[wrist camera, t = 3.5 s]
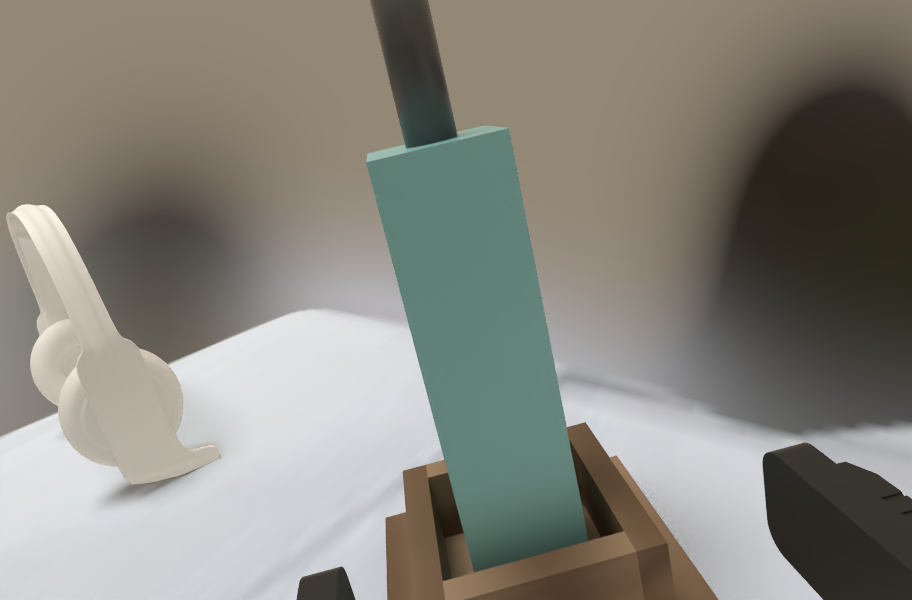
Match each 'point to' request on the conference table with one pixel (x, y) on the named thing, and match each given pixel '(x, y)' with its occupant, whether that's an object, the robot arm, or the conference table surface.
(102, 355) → the headset
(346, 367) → the conference table surface
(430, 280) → the plug
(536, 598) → the brown open square box
